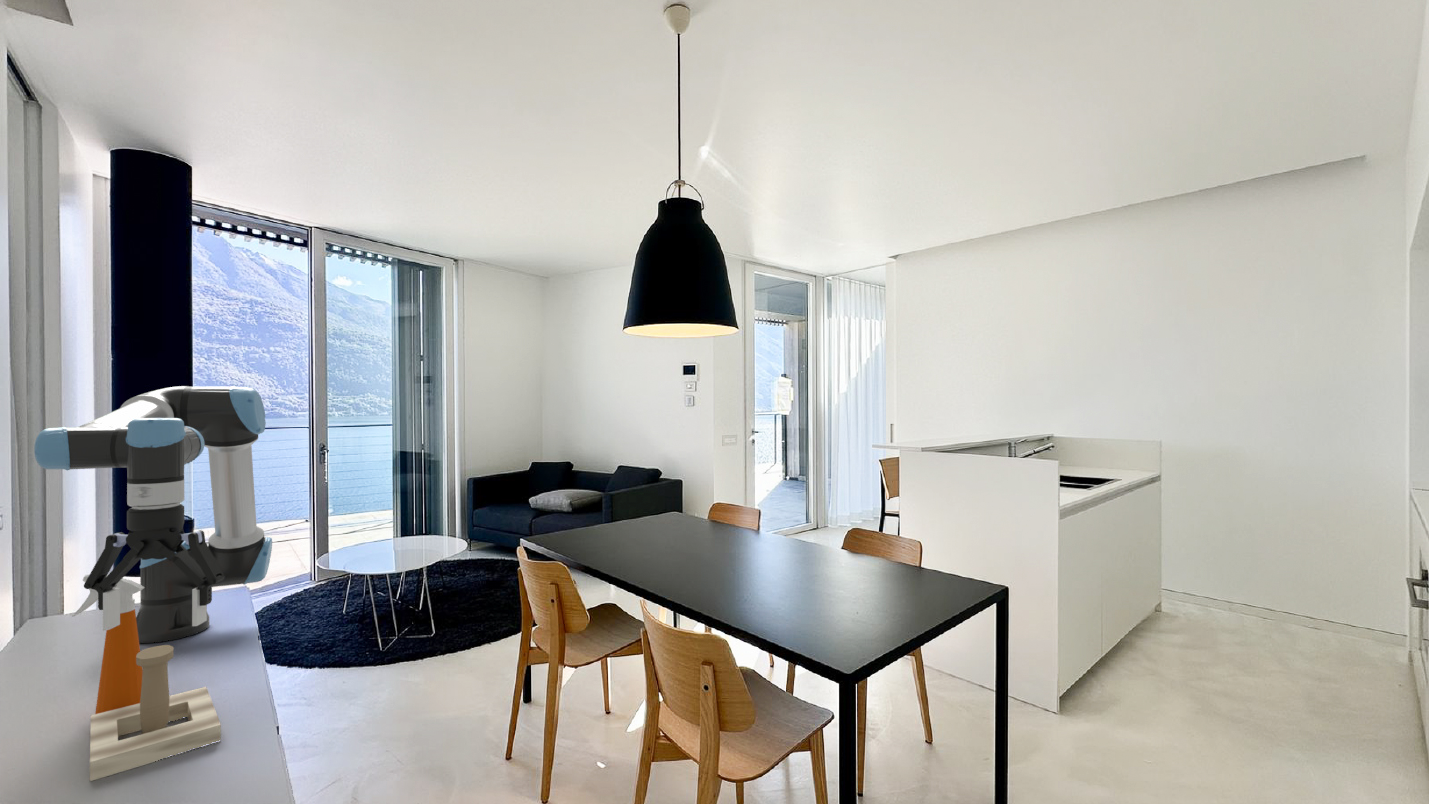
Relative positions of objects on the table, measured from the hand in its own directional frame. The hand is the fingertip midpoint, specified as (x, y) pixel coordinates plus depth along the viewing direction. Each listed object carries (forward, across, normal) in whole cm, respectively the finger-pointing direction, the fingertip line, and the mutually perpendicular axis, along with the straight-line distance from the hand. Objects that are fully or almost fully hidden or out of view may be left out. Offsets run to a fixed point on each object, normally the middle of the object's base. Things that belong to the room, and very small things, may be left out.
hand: (156, 625), depth 109 cm
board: (+20, 0, 0) cm, 20 cm away
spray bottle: (+20, -15, +11) cm, 27 cm away
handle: (+20, 0, 0) cm, 20 cm away
